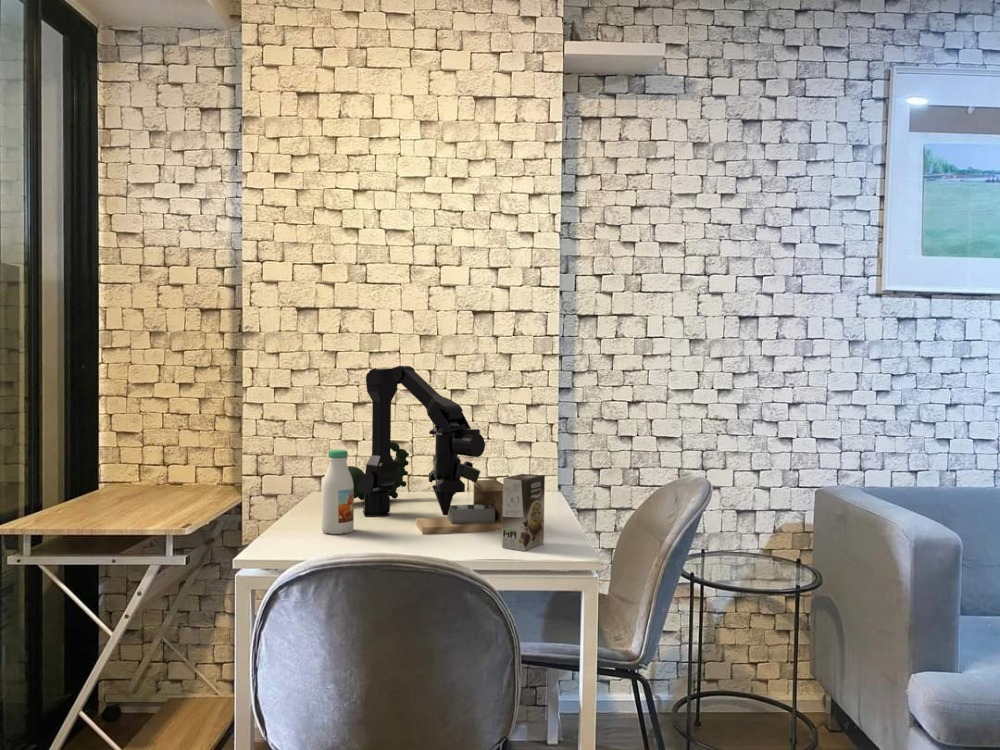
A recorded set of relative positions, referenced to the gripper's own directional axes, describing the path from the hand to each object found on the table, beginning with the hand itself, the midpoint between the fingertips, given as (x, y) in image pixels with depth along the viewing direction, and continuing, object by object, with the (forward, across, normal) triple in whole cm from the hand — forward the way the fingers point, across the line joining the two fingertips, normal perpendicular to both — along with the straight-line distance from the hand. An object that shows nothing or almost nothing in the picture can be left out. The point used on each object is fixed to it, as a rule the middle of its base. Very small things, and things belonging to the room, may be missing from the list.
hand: (445, 515), depth 199 cm
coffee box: (+3, -21, -15) cm, 26 cm away
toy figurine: (+4, +37, +17) cm, 41 cm away
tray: (+2, 0, -7) cm, 7 cm away
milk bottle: (+4, +1, +26) cm, 27 cm away
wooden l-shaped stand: (+3, 0, -4) cm, 6 cm away
